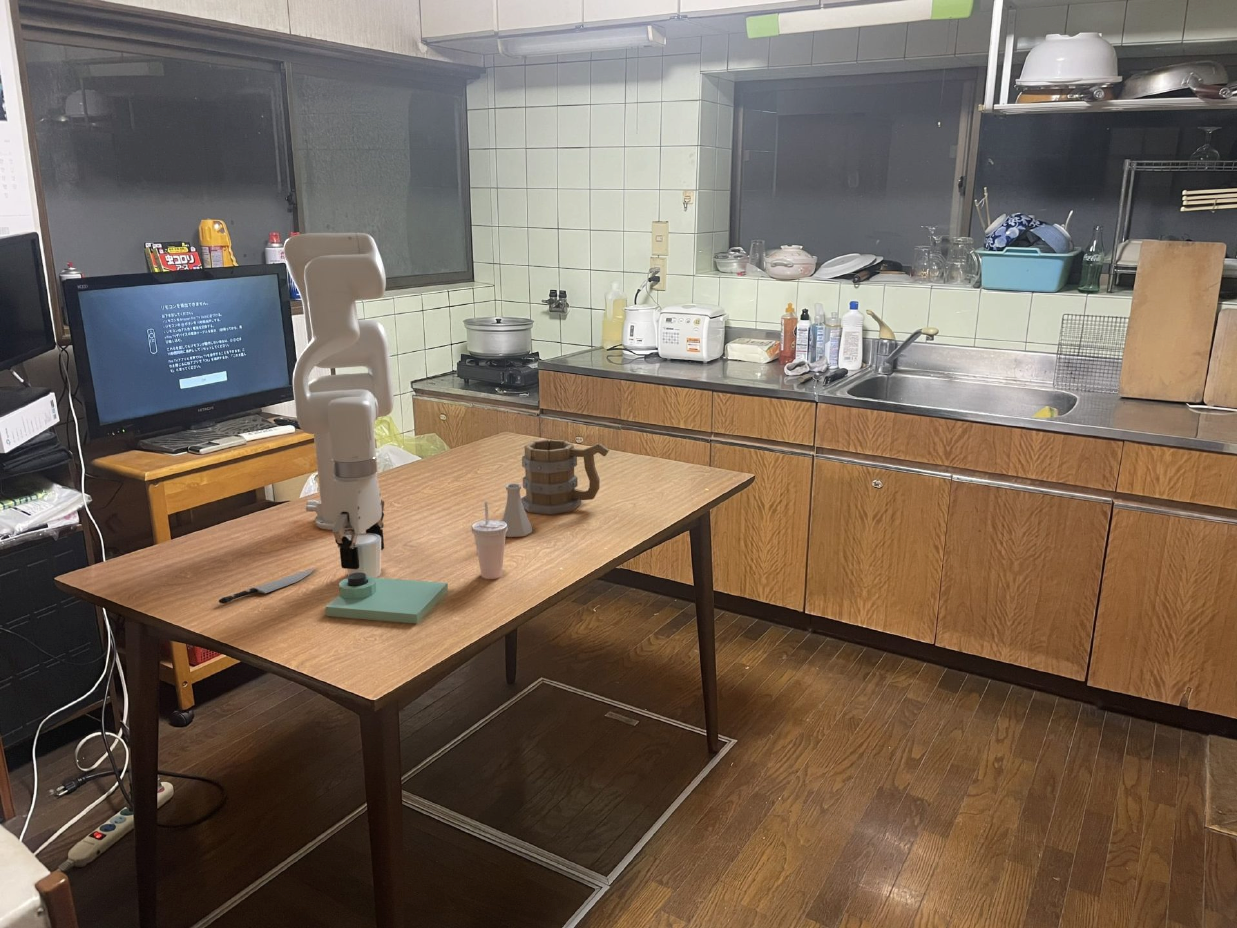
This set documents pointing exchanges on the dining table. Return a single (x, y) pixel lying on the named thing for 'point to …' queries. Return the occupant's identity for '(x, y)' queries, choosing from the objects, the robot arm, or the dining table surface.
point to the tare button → (357, 579)
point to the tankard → (557, 476)
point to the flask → (515, 513)
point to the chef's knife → (268, 586)
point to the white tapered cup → (368, 554)
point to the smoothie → (490, 545)
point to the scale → (387, 599)
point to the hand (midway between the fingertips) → (363, 558)
